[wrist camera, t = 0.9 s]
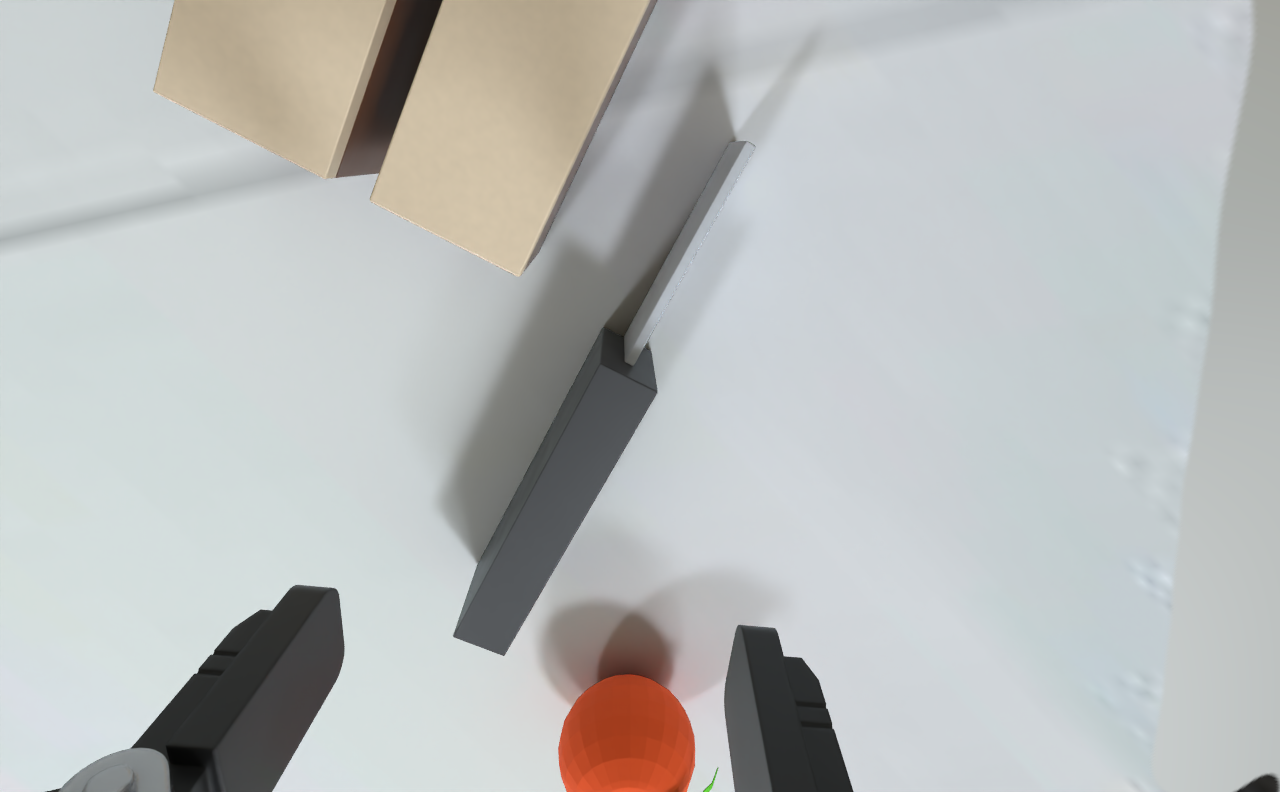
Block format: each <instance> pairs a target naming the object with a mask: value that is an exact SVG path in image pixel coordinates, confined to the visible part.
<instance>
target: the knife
mask: <svg viewBox="0 0 1280 792" xmlns="http://www.w3.org/2000/svg"><path fill="white" fill-rule="evenodd" d="M755 148H756V146H755V145H753V144H752V143H750V142H748V141H737V142H730V143H729V144H728V146H727V148H726V150H725V152H724V154H723V155H722V157H721V159H720V161H719V163H718V165H717V166H716V168H715V170H714V172H713V174H712V176H711V177H710V179H709V181H708V183H707V185H706V187H705V188H704V190H703V192H702V194H701V196H700V198H699V200H698V201H697V203H696V205H695V207H694V209H693V211H692V212H691V214H690V216H689V218H688V220H687V222H686V223H685V225H684V227H683V229H682V231H681V233H680V234H679V236H678V238H677V240H676V242H675V244H674V246H673V247H672V249H671V251H670V253H669V255H668V257H667V258H666V260H665V262H664V264H663V266H662V268H661V269H660V271H659V273H658V275H657V277H656V279H655V280H654V282H653V284H652V286H651V288H650V290H649V291H648V293H647V295H646V297H645V299H644V301H643V303H642V304H641V306H640V308H639V310H638V312H637V314H636V315H635V317H634V319H633V321H632V323H631V325H630V326H629V328H628V330H627V332H626V334H625V336H624V337H622V336H620V335H618V334H616V333H614V332H612V331H610V330H608V329H606V328H604V327H603V328H602V330H601V332H600V334H599V336H598V338H597V340H596V342H595V343H594V345H593V347H592V349H591V351H590V353H589V355H588V357H587V359H586V360H585V362H584V364H583V366H582V368H581V370H580V372H579V374H578V376H577V377H576V379H575V381H574V383H573V385H572V387H571V389H570V391H569V393H568V394H567V396H566V398H565V400H564V402H563V404H562V406H561V408H560V410H559V412H558V413H557V415H556V417H555V419H554V421H553V423H552V425H551V427H550V429H549V430H548V432H547V434H546V436H545V438H544V440H543V442H542V444H541V446H540V447H539V449H538V451H537V453H536V455H535V457H534V459H533V461H532V463H531V464H530V466H529V468H528V470H527V472H526V474H525V476H524V478H523V480H522V482H521V483H520V485H519V487H518V489H517V491H516V493H515V495H514V497H513V499H512V500H511V502H510V504H509V506H508V508H507V510H506V512H505V514H504V516H503V517H502V519H501V521H500V523H499V525H498V527H497V529H496V531H495V533H494V534H493V536H492V538H491V540H490V542H489V544H488V546H487V548H486V550H485V551H484V553H483V555H482V557H481V559H480V561H479V563H478V565H477V567H476V570H475V573H474V576H473V579H472V582H471V585H470V588H469V591H468V594H467V597H466V600H465V603H464V606H463V608H462V611H461V614H460V617H459V620H458V623H457V626H456V629H455V632H454V635H453V637H455V638H458V639H460V640H463V641H465V642H468V643H471V644H473V645H476V646H479V647H481V648H484V649H487V650H489V651H492V652H495V653H497V654H500V655H503V656H504V655H505V654H506V652H507V650H508V648H509V647H510V645H511V643H512V642H513V640H514V638H515V636H516V635H517V633H518V631H519V630H520V628H521V626H522V624H523V623H524V621H525V619H526V618H527V616H528V614H529V612H530V611H531V609H532V607H533V605H534V604H535V602H536V600H537V599H538V597H539V595H540V593H541V592H542V590H543V588H544V587H545V585H546V583H547V581H548V580H549V578H550V576H551V575H552V573H553V571H554V569H555V568H556V566H557V564H558V563H559V561H560V559H561V557H562V556H563V554H564V552H565V550H566V549H567V547H568V545H569V544H570V542H571V540H572V538H573V537H574V535H575V533H576V532H577V530H578V528H579V526H580V525H581V523H582V521H583V520H584V518H585V516H586V514H587V513H588V511H589V509H590V508H591V506H592V504H593V502H594V501H595V499H596V497H597V495H598V494H599V492H600V490H601V489H602V487H603V485H604V483H605V482H606V480H607V478H608V477H609V475H610V473H611V471H612V470H613V468H614V466H615V465H616V463H617V461H618V459H619V458H620V456H621V454H622V453H623V451H624V449H625V447H626V446H627V444H628V442H629V440H630V439H631V437H632V435H633V434H634V432H635V430H636V428H637V427H638V425H639V423H640V422H641V420H642V418H643V416H644V415H645V413H646V411H647V410H648V408H649V406H650V404H651V403H652V401H653V399H654V398H655V396H656V394H657V385H656V379H655V372H654V366H653V360H652V353H651V351H650V350H648V349H646V348H644V346H645V345H646V343H647V341H648V339H649V337H650V336H651V334H652V332H653V330H654V328H655V327H656V325H657V323H658V321H659V320H660V318H661V316H662V314H663V312H664V311H665V309H666V307H667V305H668V303H669V302H670V300H671V298H672V296H673V294H674V293H675V291H676V289H677V287H678V285H679V284H680V282H681V280H682V278H683V277H684V275H685V273H686V271H687V269H688V268H689V266H690V264H691V262H692V260H693V259H694V257H695V255H696V253H697V251H698V250H699V248H700V246H701V244H702V243H703V241H704V239H705V237H706V235H707V234H708V232H709V230H710V228H711V226H712V225H713V223H714V221H715V219H716V217H717V216H718V214H719V212H720V210H721V209H722V207H723V205H724V203H725V201H726V200H727V198H728V196H729V194H730V192H731V191H732V189H733V187H734V185H735V183H736V182H737V180H738V178H739V176H740V175H741V173H742V171H743V169H744V167H745V166H746V164H747V162H748V160H749V158H750V157H751V155H752V153H753V151H754V149H755Z"/></svg>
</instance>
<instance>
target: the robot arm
mask: <svg viewBox="0 0 1280 792" xmlns="http://www.w3.org/2000/svg"><path fill="white" fill-rule="evenodd" d="M343 658H344V637H343V628H342V618H341V609H340V599H339V594H338V591H337V590H336V589H335V588H326V587H315V586H304V585H295V586H293V587H292V588H290V590H289V591H288V592H287V593H286V594H285V596H284V597H283V598H282V599H281V601H280V602H279V603H278V604H277V606H276V607H275V608H274V609H273V611H270V610H259V611H258V612H256V613H255V614H253V615H252V616H250V617H249V618H247V619H246V620H245V621H243V622H242V623H240V624H239V625H237V626H236V627H234V628H233V629H232V630H231V631H230V633H229V634H228V635H227V636H226V637H225V638H224V640H223V641H222V642H221V643H220V644H219V646H218V647H217V648H216V649H215V650H214V654H213V655H210V656H209V657H208V658H207V660H206V661H205V662H204V663H203V664H202V666H201V667H200V668H199V671H198V673H197V674H194V675H193V676H192V677H191V678H190V680H189V681H188V682H187V683H186V684H185V686H184V687H183V688H182V689H181V690H180V691H179V693H178V694H177V695H176V696H175V697H174V698H173V700H172V701H171V702H170V703H169V704H168V705H167V707H166V708H165V709H164V710H163V711H162V713H161V714H160V715H159V716H158V717H157V718H156V720H155V721H154V722H153V723H152V724H151V725H150V727H149V728H148V729H147V730H146V731H145V733H144V734H143V735H142V736H141V737H140V738H139V740H138V741H137V742H136V743H135V744H134V745H133V746H132V747H131V748H130V749H127V750H122V751H119V752H116V753H113V754H110V755H108V756H105V757H103V758H101V759H99V760H97V761H95V762H93V763H91V764H90V765H88V766H87V767H85V768H84V769H82V770H81V771H79V772H78V773H77V774H76V775H74V776H73V777H72V778H71V779H70V780H69V781H68V782H67V783H66V784H65V785H64V786H63V787H62V788H60V789H56V790H52V791H47V792H272V791H273V789H274V787H275V786H276V784H277V782H278V780H279V779H280V777H281V775H282V774H283V772H284V770H285V768H286V767H287V765H288V763H289V761H290V760H291V758H292V756H293V755H294V753H295V751H296V749H297V748H298V746H299V744H300V742H301V741H302V739H303V737H304V736H305V734H306V732H307V730H308V729H309V727H310V725H311V723H312V722H313V720H314V718H315V716H316V715H317V713H318V711H319V710H320V708H321V706H322V704H323V703H324V701H325V699H326V697H327V696H328V694H329V692H330V691H331V689H332V687H333V685H334V684H335V682H336V680H337V678H338V676H339V673H340V670H341V667H342V663H343ZM724 707H725V719H726V726H727V734H728V742H729V749H730V757H731V765H732V772H733V780H734V788H735V792H853V789H852V786H851V783H850V779H849V776H848V773H847V770H846V767H845V763H844V760H843V757H842V754H841V750H840V747H839V744H838V741H837V738H836V734H835V731H834V729H832V722H831V718H830V715H829V712H828V709H826V702H825V699H824V696H823V693H822V690H821V686H820V683H819V680H818V679H817V677H816V676H815V675H814V673H813V672H812V671H811V670H810V668H809V667H808V666H807V664H806V663H805V662H804V660H803V659H802V658H796V657H785V656H783V652H782V648H781V644H780V640H779V636H778V633H777V631H776V629H775V628H768V627H756V626H745V625H738V626H737V629H736V632H735V637H734V642H733V647H732V652H731V657H730V662H729V667H728V672H727V677H726V683H725V695H724Z"/></svg>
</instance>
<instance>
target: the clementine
mask: <svg viewBox="0 0 1280 792" xmlns="http://www.w3.org/2000/svg"><path fill="white" fill-rule="evenodd" d="M558 750H559V766H560V772H561V777H562V780H563V783H564V785H565V788H566V791H567V792H687V789H688V786H689V783H690V780H691V777H692V773H693V770H694V767H695V741H694V734H693V731H692V727H691V723H690V721H689V718H688V716H687V714H686V712H685V710H684V708H683V707H682V705H681V704H680V702H679V701H678V700H677V698H676V697H675V696H674V695H673V694H672V693H671V692H670V691H669V690H668V689H666V688H665V687H663V686H662V685H660V684H658V683H657V682H655V681H653V680H652V679H649V678H646V677H643V676H640V675H632V674H624V675H615V676H612V677H609V678H605V679H603V680H602V681H600V682H598V683H596V684H595V685H593V686H592V687H590V688H589V689H587V690H586V691H585V692H584V693H583V694H582V695H581V696H580V697H579V698H578V699H577V701H576V702H575V704H574V705H573V707H572V709H571V710H570V712H569V714H568V715H567V717H566V719H565V721H564V725H563V729H562V733H561V737H560V742H559V748H558ZM717 771H718V768H717V770H716V773H715V776H714V778H713V781H712V783H711V784H710V785H709V786H708V787H707V788H706V789H705V790H704V791H703V792H709V791H710V790H711V788H712V786H713V783H714V780H715V777H716V774H717Z"/></svg>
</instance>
